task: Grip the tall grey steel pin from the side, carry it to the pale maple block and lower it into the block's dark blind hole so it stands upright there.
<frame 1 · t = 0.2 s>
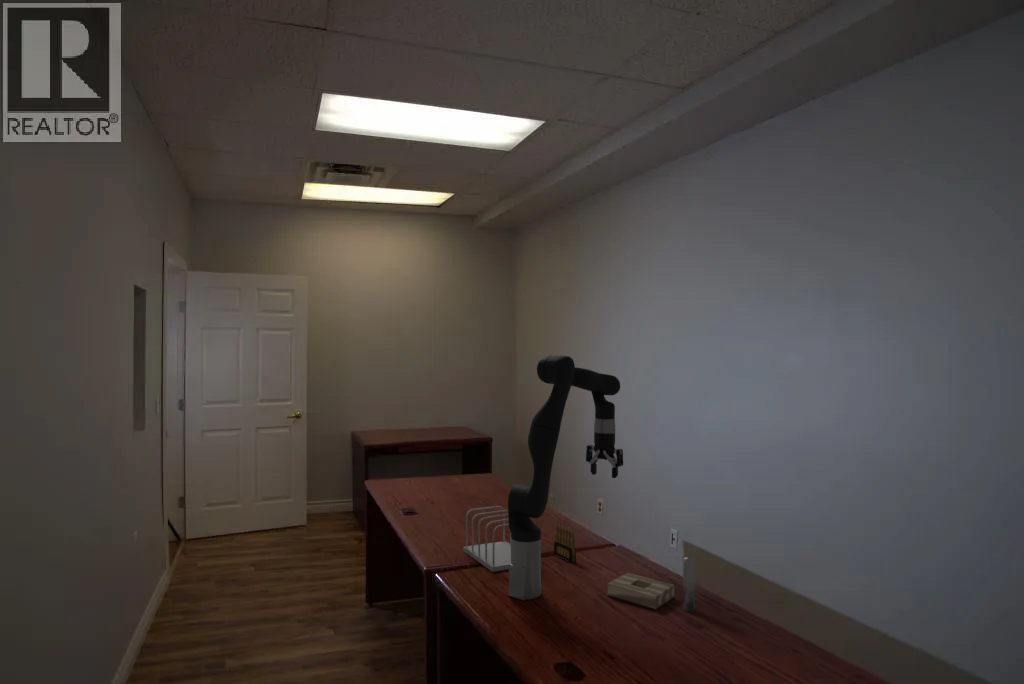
hand: (604, 476, 234), 29 cm above the table, tool pointing down, fingers open, 8 cm apart
socket block: (640, 597, 197), on the table
ammunition clip: (564, 559, 232), on the table
file sorter: (499, 559, 232), on the table
steel pin: (688, 609, 188), on the table
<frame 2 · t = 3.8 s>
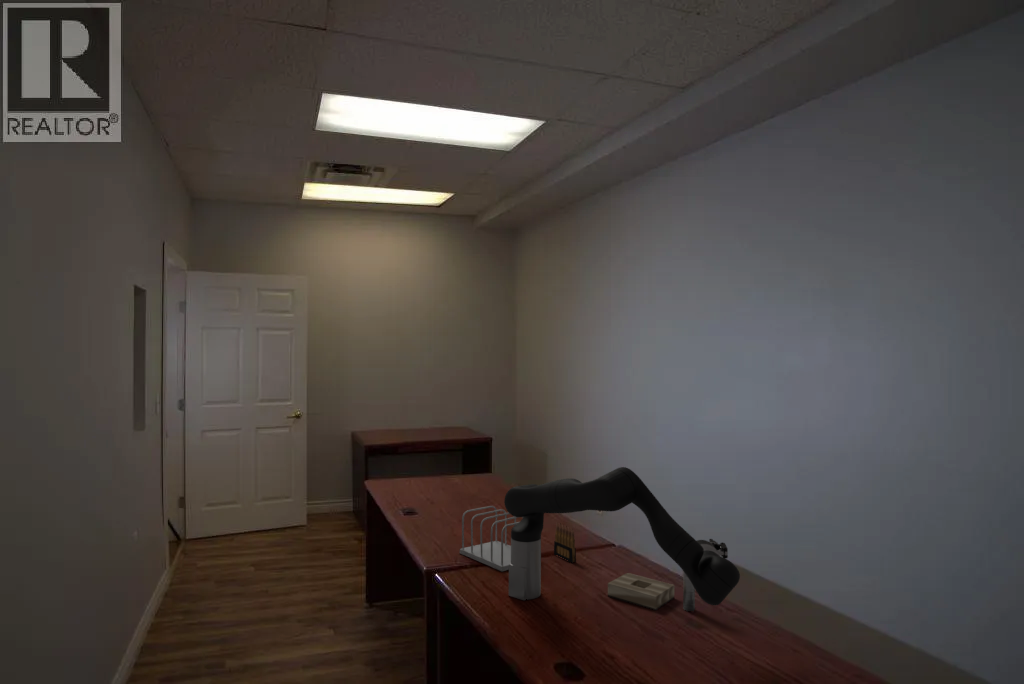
hand: (694, 541, 180), 22 cm above the table, tool horizontal, fingers open, 8 cm apart
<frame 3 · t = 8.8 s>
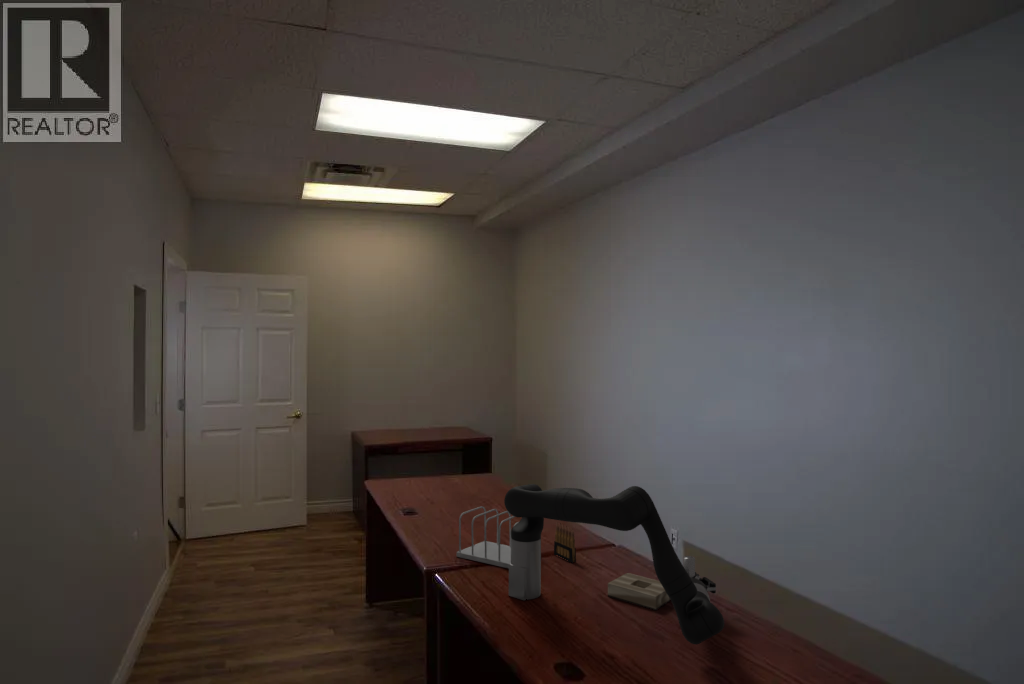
hand: (688, 574, 191), 9 cm above the table, tool horizontal, fingers closed on steel pin, 3 cm apart
steel pin: (688, 609, 189), on the table, touching gripper
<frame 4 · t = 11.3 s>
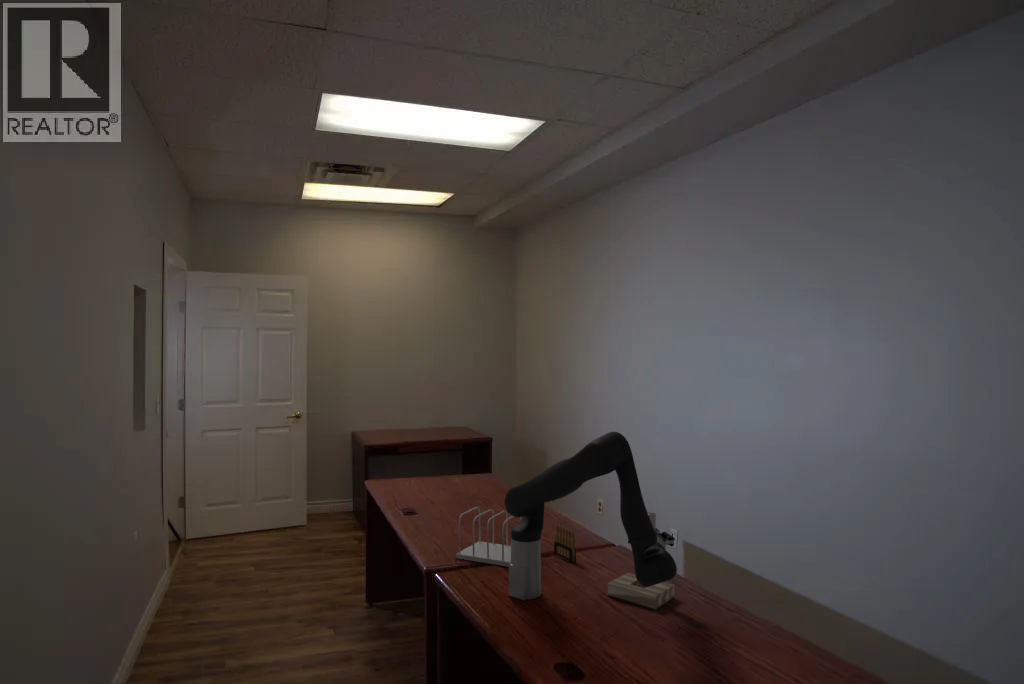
hand: (649, 530, 199), 20 cm above the table, tool horizontal, fingers closed on steel pin, 3 cm apart
steel pin: (649, 563, 196), point 11 cm above the table, touching gripper
when the fingers open (10 cm above the table, at t = 13.8 s): steel pin stays where it is, resting on socket block.
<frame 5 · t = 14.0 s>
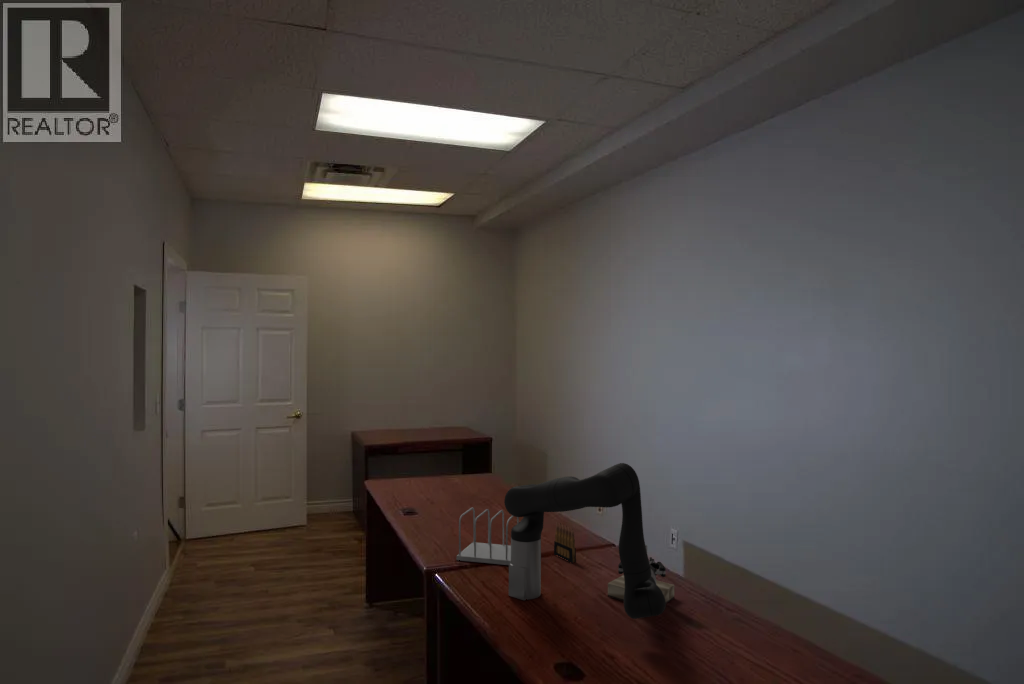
hand: (640, 559, 200), 10 cm above the table, tool horizontal, fingers open, 5 cm apart
steel pin: (641, 595, 197), point 1 cm above the table, touching socket block
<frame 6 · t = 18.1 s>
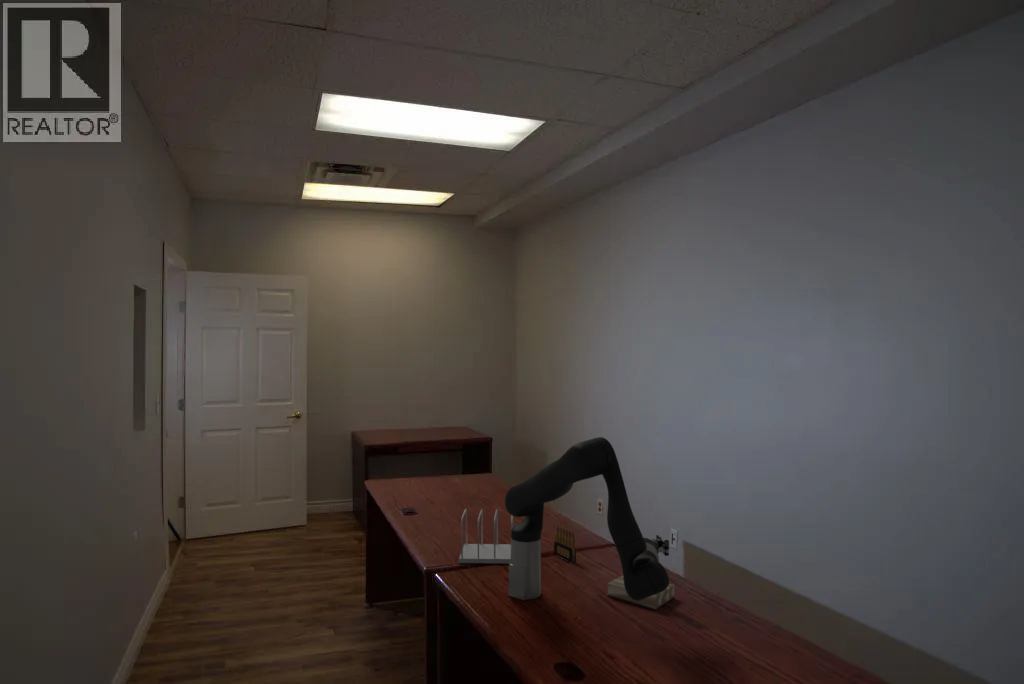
hand: (642, 537, 187), 21 cm above the table, tool horizontal, fingers open, 8 cm apart
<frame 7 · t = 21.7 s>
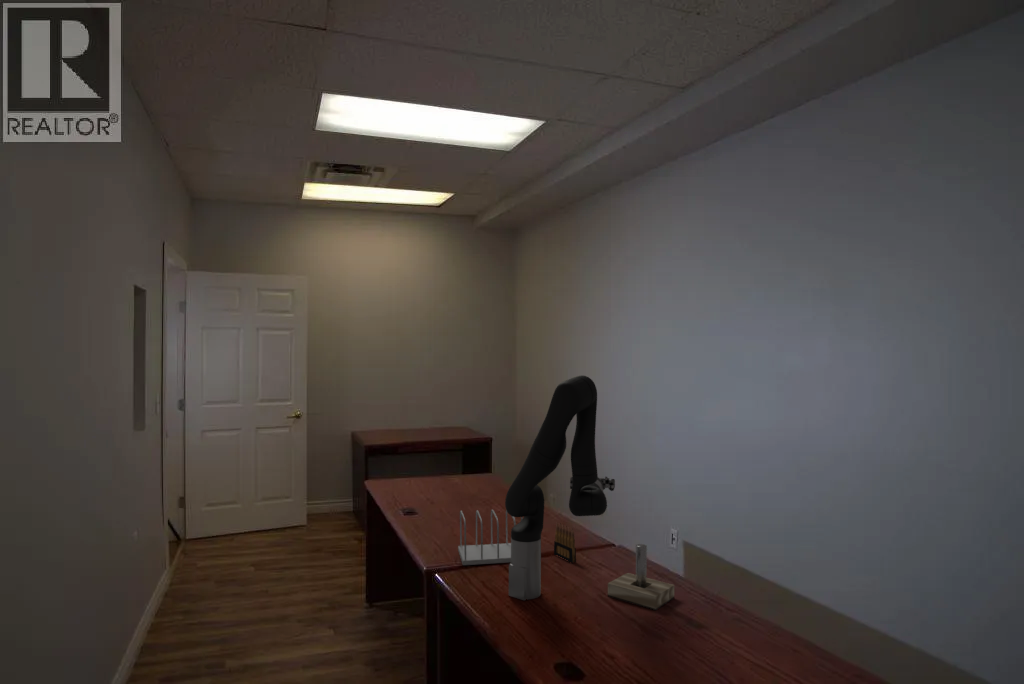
hand: (593, 479, 215), 32 cm above the table, tool horizontal, fingers open, 8 cm apart
at the end: steel pin 0.1 cm off-centre on the socket block, point 0.5 cm above the socket block's base; steel pin tilted 2°; the gripper is holding nothing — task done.
